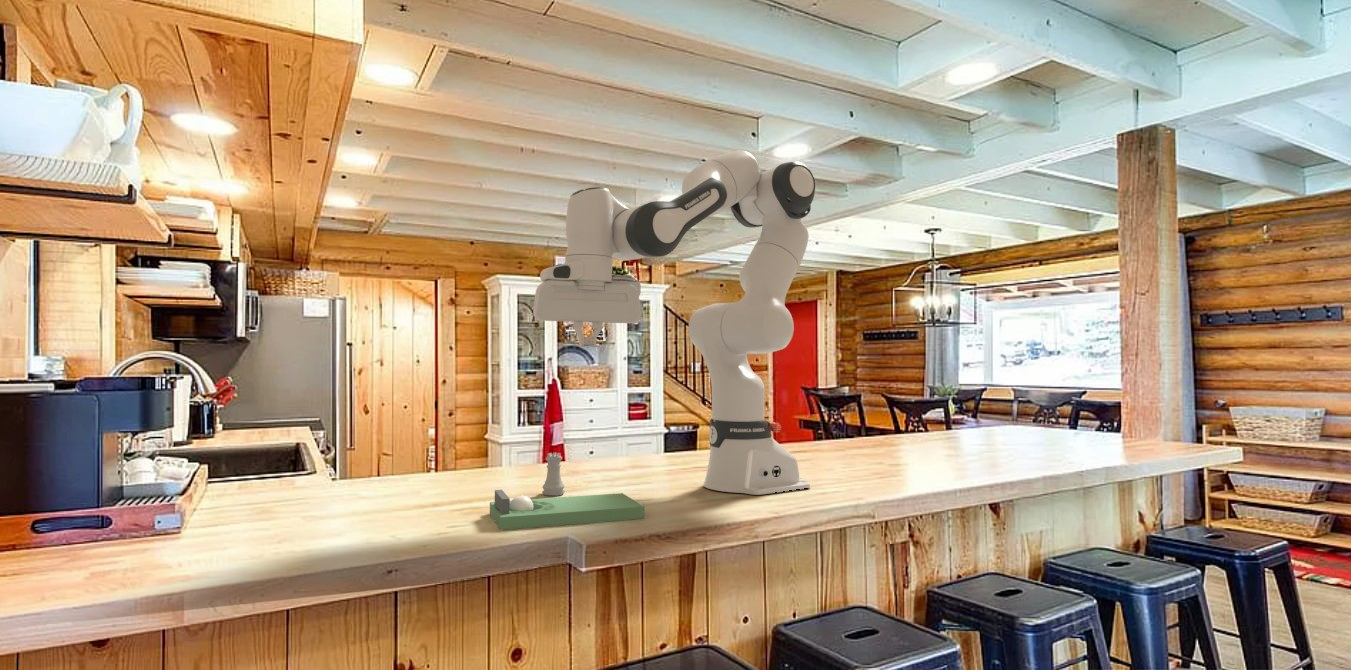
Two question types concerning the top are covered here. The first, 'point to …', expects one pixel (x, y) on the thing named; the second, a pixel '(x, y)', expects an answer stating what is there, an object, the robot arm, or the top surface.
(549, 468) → the rook chess piece
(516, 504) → the ball
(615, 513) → the green board
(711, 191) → the robot arm
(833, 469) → the top surface
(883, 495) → the top surface
